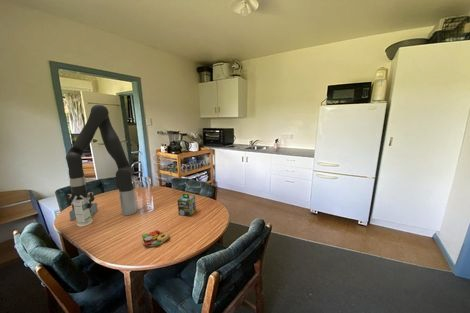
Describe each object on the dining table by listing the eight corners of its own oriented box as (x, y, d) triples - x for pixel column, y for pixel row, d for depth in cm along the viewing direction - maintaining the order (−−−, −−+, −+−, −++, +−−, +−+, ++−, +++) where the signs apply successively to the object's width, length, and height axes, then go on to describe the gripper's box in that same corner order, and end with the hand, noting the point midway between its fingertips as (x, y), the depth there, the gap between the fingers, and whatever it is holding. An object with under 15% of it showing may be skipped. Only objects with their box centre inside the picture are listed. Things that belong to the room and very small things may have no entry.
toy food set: (172, 240, 106) (172, 234, 106) (148, 252, 97) (148, 246, 96) (160, 230, 115) (160, 225, 114) (137, 241, 105) (137, 235, 105)
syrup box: (84, 222, 120) (80, 200, 117) (76, 221, 121) (72, 200, 118) (92, 217, 125) (89, 197, 123) (84, 217, 126) (81, 196, 123)
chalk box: (196, 210, 139) (195, 191, 136) (190, 216, 130) (188, 196, 127) (185, 209, 142) (183, 190, 139) (178, 215, 133) (176, 195, 130)
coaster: (94, 219, 128) (94, 218, 128) (89, 225, 121) (89, 224, 121) (80, 220, 126) (80, 220, 126) (74, 227, 119) (74, 226, 119)
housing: (97, 210, 140) (96, 202, 139) (90, 218, 130) (89, 209, 128) (79, 212, 137) (77, 204, 136) (70, 220, 127) (69, 211, 125)
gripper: (94, 181, 124) (97, 204, 127) (67, 183, 120) (72, 207, 123) (88, 185, 117) (92, 210, 120) (60, 187, 113) (65, 213, 116)
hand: (82, 208), depth 122 cm, fingers closed on syrup box, 7 cm apart
